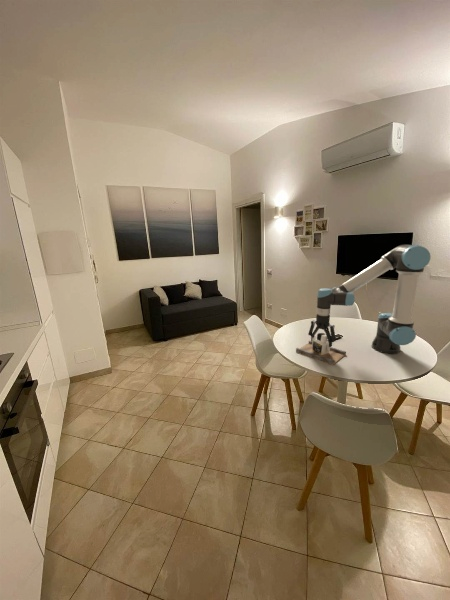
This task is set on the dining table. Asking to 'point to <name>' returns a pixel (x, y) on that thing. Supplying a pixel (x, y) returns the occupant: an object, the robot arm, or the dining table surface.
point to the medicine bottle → (320, 344)
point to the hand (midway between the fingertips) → (320, 348)
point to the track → (330, 358)
